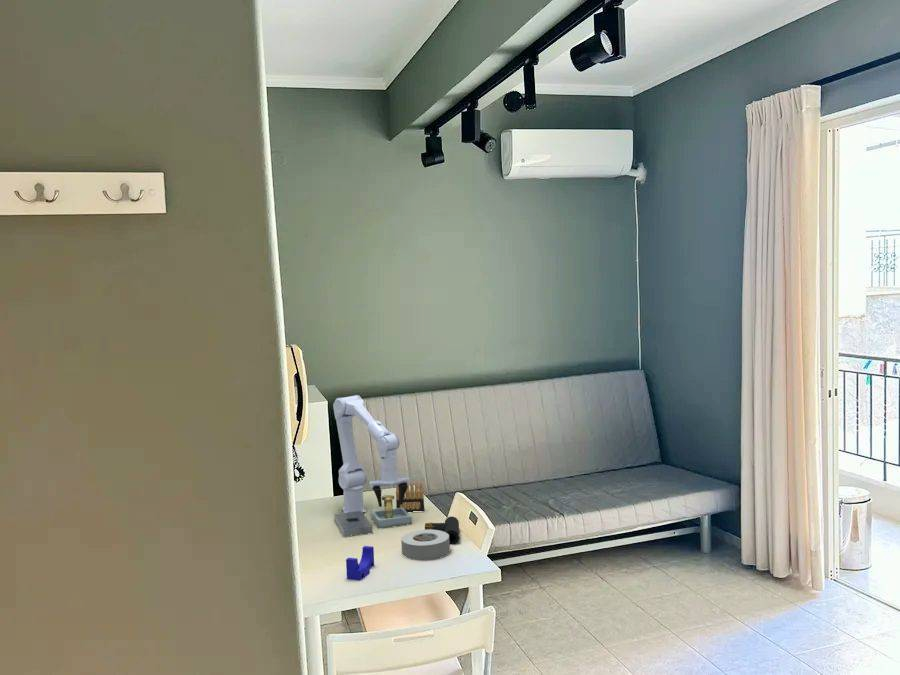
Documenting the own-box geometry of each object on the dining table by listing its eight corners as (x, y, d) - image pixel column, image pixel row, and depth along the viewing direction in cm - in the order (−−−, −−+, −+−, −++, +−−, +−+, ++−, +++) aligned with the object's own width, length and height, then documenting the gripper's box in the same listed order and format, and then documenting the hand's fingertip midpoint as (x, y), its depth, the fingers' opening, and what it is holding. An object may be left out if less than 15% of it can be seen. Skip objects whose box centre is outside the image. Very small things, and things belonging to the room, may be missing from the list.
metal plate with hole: (334, 520, 280) (334, 514, 279) (361, 517, 283) (361, 510, 282) (343, 537, 261) (343, 529, 260) (372, 533, 264) (372, 526, 263)
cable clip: (360, 581, 221) (359, 560, 221) (346, 579, 223) (346, 559, 222) (378, 566, 232) (377, 547, 232) (365, 565, 234) (364, 545, 234)
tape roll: (410, 564, 234) (410, 547, 233) (395, 548, 248) (395, 533, 247) (457, 556, 239) (456, 540, 239) (439, 541, 253) (439, 526, 253)
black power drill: (424, 530, 249) (425, 516, 264) (424, 545, 250) (426, 531, 265) (459, 529, 249) (458, 515, 264) (459, 545, 250) (459, 530, 265)
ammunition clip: (424, 510, 289) (423, 479, 288) (424, 512, 287) (423, 480, 286) (396, 511, 288) (395, 480, 288) (396, 513, 287) (395, 481, 286)
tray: (371, 519, 280) (371, 511, 279) (403, 515, 283) (402, 507, 283) (378, 528, 268) (378, 520, 268) (411, 524, 272) (411, 516, 272)
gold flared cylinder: (381, 519, 277) (380, 495, 276) (393, 517, 278) (392, 494, 278) (384, 522, 273) (383, 498, 272) (396, 521, 274) (395, 497, 273)
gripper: (371, 472, 268) (373, 510, 269) (411, 468, 273) (412, 505, 274) (367, 468, 275) (369, 505, 276) (406, 464, 280) (407, 500, 280)
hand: (390, 505), depth 275 cm, fingers open, 7 cm apart
